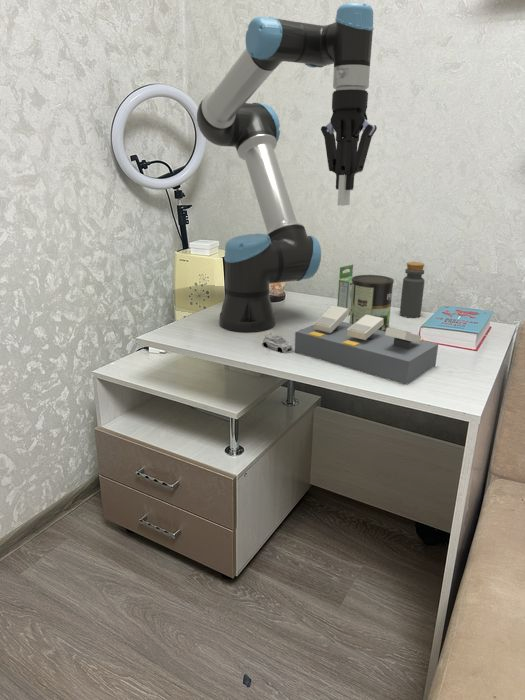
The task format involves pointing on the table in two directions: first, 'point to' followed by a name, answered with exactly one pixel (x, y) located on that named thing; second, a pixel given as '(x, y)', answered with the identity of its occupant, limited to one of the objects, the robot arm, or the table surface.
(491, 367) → the table surface
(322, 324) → the rocker left
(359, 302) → the coffee can
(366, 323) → the rocker mid
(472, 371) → the table surface
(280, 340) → the toy car
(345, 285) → the ink box
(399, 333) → the rocker right
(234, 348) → the table surface
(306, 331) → the switch unit
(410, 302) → the bottle
